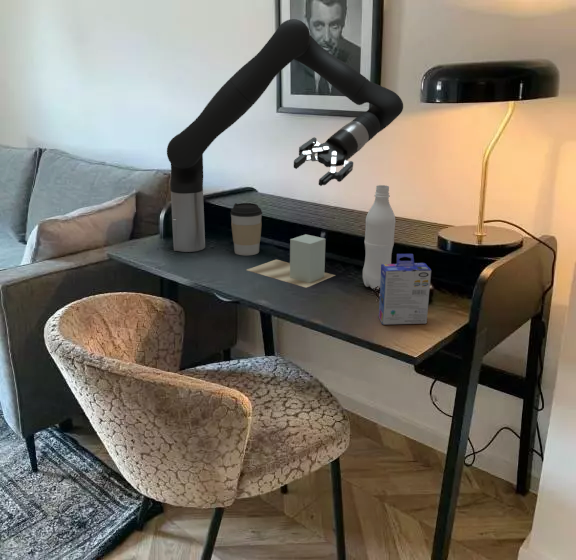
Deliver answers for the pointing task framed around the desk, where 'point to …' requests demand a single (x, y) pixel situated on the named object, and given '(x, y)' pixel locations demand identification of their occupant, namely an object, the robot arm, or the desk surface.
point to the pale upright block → (307, 258)
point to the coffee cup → (246, 228)
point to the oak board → (283, 273)
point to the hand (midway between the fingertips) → (307, 174)
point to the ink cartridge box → (404, 292)
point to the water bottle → (378, 237)
